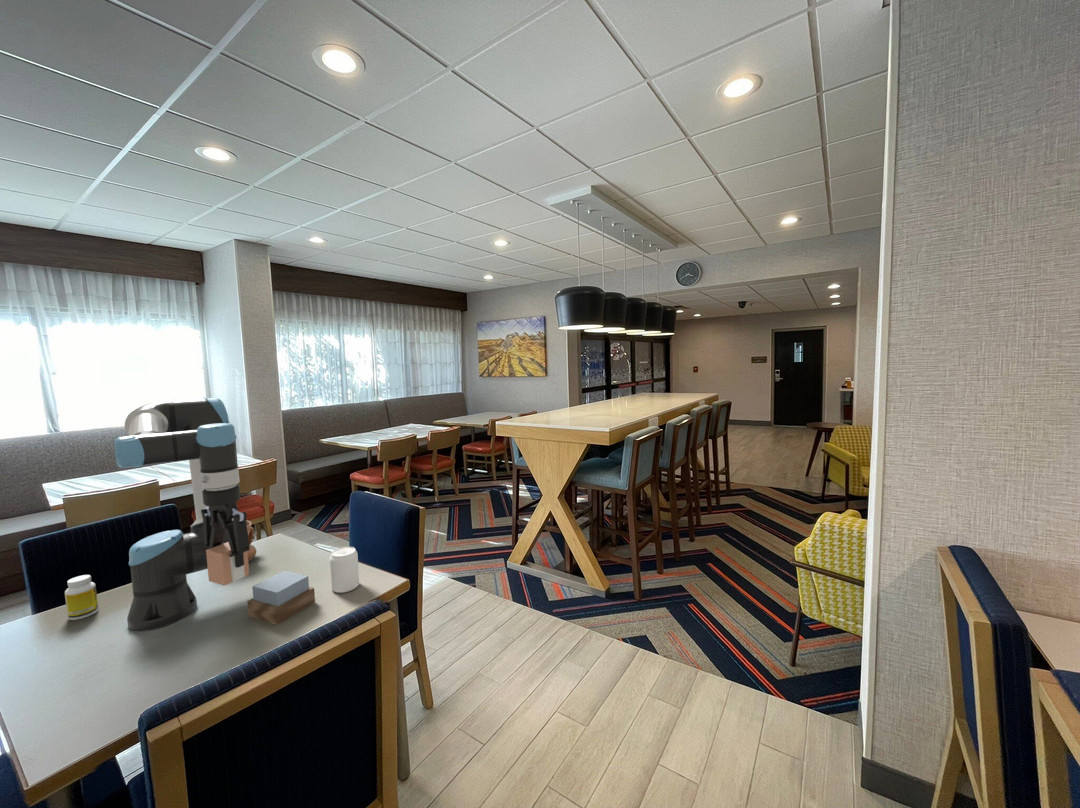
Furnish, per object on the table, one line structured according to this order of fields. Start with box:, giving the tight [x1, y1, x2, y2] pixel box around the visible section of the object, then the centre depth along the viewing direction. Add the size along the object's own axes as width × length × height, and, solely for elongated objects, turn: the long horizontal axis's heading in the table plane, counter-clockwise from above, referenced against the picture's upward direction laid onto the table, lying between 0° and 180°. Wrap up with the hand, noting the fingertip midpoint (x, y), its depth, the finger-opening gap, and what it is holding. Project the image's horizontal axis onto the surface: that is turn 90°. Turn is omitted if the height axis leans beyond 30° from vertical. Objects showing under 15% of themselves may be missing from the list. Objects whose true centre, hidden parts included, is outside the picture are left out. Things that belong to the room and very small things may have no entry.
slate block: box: [251, 570, 310, 606], centre depth 127 cm, size 10×10×4 cm
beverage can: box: [329, 546, 360, 594], centre depth 139 cm, size 8×8×12 cm
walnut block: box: [246, 586, 316, 626], centre depth 128 cm, size 12×12×5 cm
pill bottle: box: [64, 574, 99, 621], centre depth 126 cm, size 6×6×11 cm
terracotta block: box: [206, 542, 250, 586], centre depth 109 cm, size 6×6×8 cm
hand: (229, 576), depth 110 cm, fingers closed on terracotta block, 6 cm apart
